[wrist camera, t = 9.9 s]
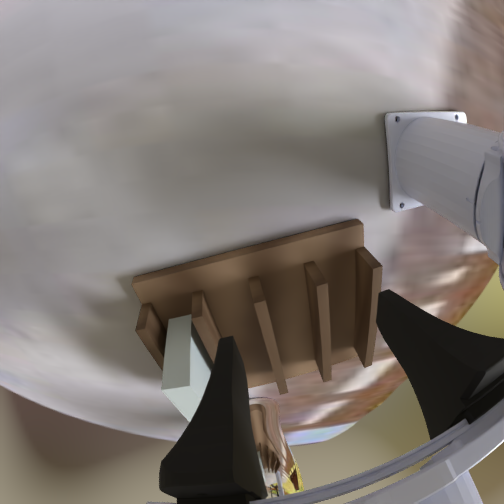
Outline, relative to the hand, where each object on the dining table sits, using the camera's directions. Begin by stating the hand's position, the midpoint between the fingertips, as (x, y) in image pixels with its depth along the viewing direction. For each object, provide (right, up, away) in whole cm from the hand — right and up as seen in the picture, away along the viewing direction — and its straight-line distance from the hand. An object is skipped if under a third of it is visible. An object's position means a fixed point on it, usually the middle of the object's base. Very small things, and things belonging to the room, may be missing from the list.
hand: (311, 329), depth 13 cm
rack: (-2, -3, +12) cm, 13 cm away
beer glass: (-2, -16, +20) cm, 26 cm away
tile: (-8, -5, +11) cm, 14 cm away
